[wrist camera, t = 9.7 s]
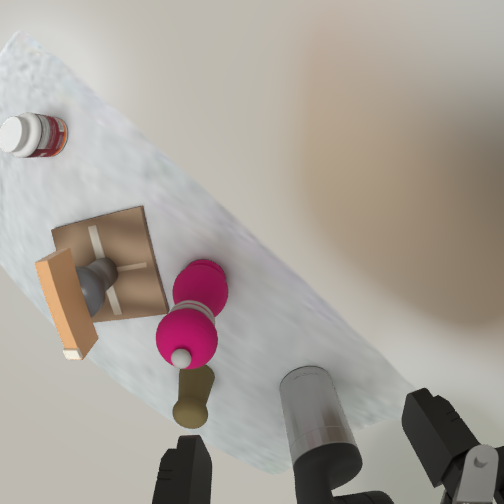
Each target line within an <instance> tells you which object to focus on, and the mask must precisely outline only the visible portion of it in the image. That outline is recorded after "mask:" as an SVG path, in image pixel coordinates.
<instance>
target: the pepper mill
mask: <svg viewBox="0 0 504 504" xmlns="http://www.w3.org/2000/svg"><path fill="white" fill-rule="evenodd" d="M227 298H228V286H227V283H226V278H225V274H224V272H223V270H222V269H221V267H220V266H219V265H217V264H216V263H214V262H212V261H209V260H197V261H194V262H192V263H190V264H189V265H188V266H187V267H186V269H184V270H183V271H182V272H181V273H180V274H179V275H178V276H177V278H176V280H175V282H174V286H173V299H174V303H175V306H174V307H173V308H172V309H171V311H170V313H169V314H167V315H166V316H165V317H164V318H163V319H162V320H161V322H160V323H159V325H158V328H157V332H156V344H157V348H158V350H159V352H160V354H161V356H162V357H163V358H164V359H165V360H166V361H167V362H168V363H170V364H171V365H173V366H175V367H177V368H180V369H195V368H199V367H201V366H203V365H205V364H206V363H207V362H208V361H209V360H210V359H211V358H212V357H213V355H214V353H215V351H216V348H217V345H218V337H217V331H216V328H215V318H214V317H216V316H217V315H218V314H219V313H220V312H221V311H222V309H223V308H224V306H225V304H226V301H227Z"/></svg>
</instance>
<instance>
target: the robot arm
mask: <svg viewBox="0 0 504 504" xmlns="http://www.w3.org/2000/svg"><path fill="white" fill-rule="evenodd" d="M280 394H281V400H282V407H283V413H284V418H285V424H286V430H287V436H288V442H289V447H290V453H291V458H292V464H293V470H294V476H295V491H296V498H297V504H394V502H393V501H392V499H391V498H390V497H389V496H388V495H387V494H386V493H384V492H382V491H369V492H362V493H357V494H350V495H343V496H336V497H333V495H332V492H331V490H333V489H335V488H337V487H340V486H342V485H344V484H346V483H347V482H348V481H350V480H352V479H353V478H354V477H355V476H356V475H357V474H358V473H359V472H360V470H361V468H362V458H361V455H360V452H359V450H358V447H357V444H356V442H355V439H354V437H353V434H352V432H351V429H350V426H349V424H348V421H347V419H346V416H345V414H344V411H343V409H342V406H341V403H340V401H339V398H338V396H337V393H336V391H335V388H334V386H333V383H332V381H331V378H330V376H329V374H328V373H327V372H326V371H325V370H323V369H321V368H318V367H303V368H299V369H297V370H294V371H292V372H291V373H289V374H288V375H287V376H286V377H285V378H284V379H283V381H282V382H281V385H280ZM402 427H403V430H404V432H405V434H406V435H407V437H408V439H409V441H410V443H411V445H412V447H413V449H414V450H415V452H416V454H417V456H418V457H419V459H420V462H421V463H422V466H423V467H424V469H425V471H426V473H427V475H428V477H429V479H430V481H431V483H432V485H433V487H434V488H435V487H437V486H440V485H442V484H443V485H444V487H445V490H444V493H443V496H442V500H441V503H440V504H492V501H493V497H494V499H495V501H496V503H497V504H504V446H502V447H499V448H493V447H492V446H489V445H481V444H480V443H479V442H478V441H477V439H476V438H475V436H474V435H473V434H472V432H471V431H470V430H469V428H468V427H467V425H466V424H465V423H464V421H463V420H462V418H460V416H459V414H458V413H457V412H455V409H454V408H453V406H452V405H451V404H450V402H449V401H447V400H446V399H444V398H442V397H441V396H439V395H437V396H435V397H433V396H432V395H431V393H430V392H429V390H428V389H426V388H422V389H419V390H417V391H414V392H411V393H409V394H407V396H406V401H405V405H404V410H403V414H402ZM211 480H212V461H211V457H210V455H209V453H208V451H207V449H206V447H205V445H204V442H203V440H202V438H201V436H200V435H187V436H180V437H179V439H178V443H177V449H168V450H167V451H166V453H165V454H164V456H163V457H162V458H161V462H160V467H159V472H158V476H157V481H156V486H155V491H154V495H153V500H152V504H210V498H211Z"/></svg>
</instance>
